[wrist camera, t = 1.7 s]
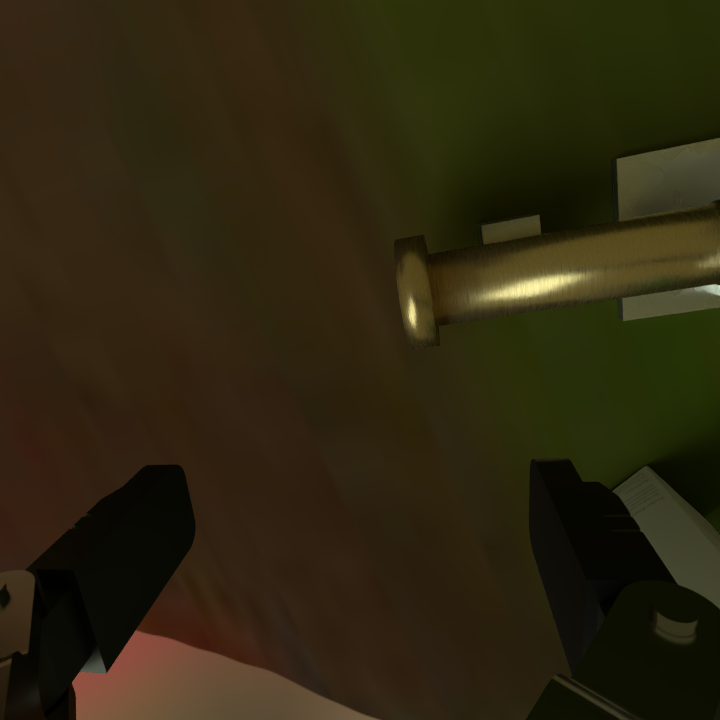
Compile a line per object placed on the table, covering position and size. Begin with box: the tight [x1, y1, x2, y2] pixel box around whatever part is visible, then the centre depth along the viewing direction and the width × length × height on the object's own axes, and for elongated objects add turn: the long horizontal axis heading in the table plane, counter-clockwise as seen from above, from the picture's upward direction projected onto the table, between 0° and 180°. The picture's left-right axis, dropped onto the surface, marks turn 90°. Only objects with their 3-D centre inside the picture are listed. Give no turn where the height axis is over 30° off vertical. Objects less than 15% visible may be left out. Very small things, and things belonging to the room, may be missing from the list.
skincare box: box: [612, 466, 720, 609], centre depth 26 cm, size 8×6×15 cm
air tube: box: [394, 200, 720, 350], centre depth 23 cm, size 19×6×6 cm, turn 101°
